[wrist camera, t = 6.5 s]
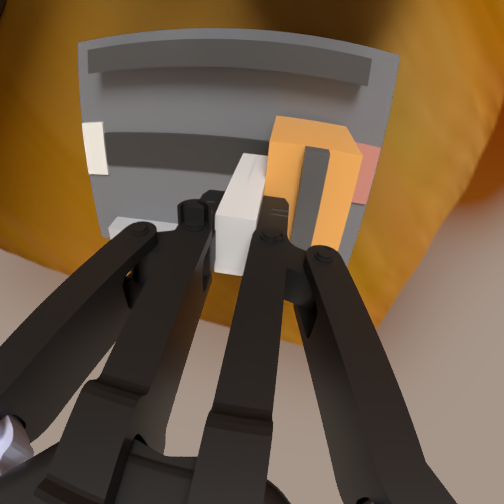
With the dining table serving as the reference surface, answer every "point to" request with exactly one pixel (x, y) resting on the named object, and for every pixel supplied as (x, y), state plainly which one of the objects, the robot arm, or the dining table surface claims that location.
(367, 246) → the dining table surface
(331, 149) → the breaker toggle
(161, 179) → the breaker panel
